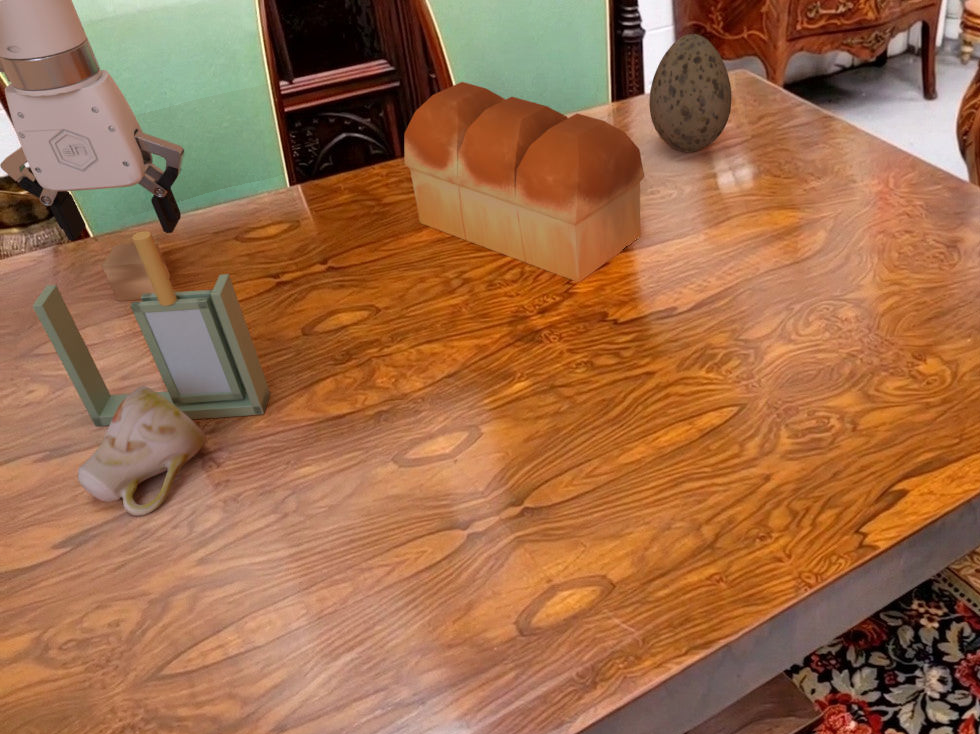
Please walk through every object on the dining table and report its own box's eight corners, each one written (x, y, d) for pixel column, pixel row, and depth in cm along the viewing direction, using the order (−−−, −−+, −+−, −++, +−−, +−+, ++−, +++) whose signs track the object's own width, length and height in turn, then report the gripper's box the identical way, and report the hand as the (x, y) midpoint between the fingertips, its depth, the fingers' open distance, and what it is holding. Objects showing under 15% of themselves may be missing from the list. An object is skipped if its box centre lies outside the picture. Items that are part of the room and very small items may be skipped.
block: (117, 301, 100) (101, 265, 98) (130, 279, 104) (115, 244, 101) (159, 298, 101) (144, 262, 98) (170, 277, 104) (156, 241, 101)
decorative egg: (721, 169, 122) (727, 52, 113) (641, 161, 124) (640, 46, 115) (734, 135, 130) (741, 23, 120) (659, 129, 132) (659, 18, 122)
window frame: (95, 426, 85) (31, 305, 76) (106, 404, 87) (46, 284, 78) (264, 414, 86) (220, 294, 77) (270, 393, 88) (229, 273, 79)
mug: (64, 500, 78) (61, 382, 76) (182, 485, 85) (183, 377, 83) (100, 524, 73) (98, 398, 71) (222, 506, 81) (223, 392, 79)
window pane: (172, 407, 84) (98, 241, 73) (176, 397, 85) (104, 233, 74) (242, 402, 85) (179, 237, 74) (245, 392, 86) (184, 228, 75)
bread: (645, 237, 109) (643, 113, 100) (580, 284, 102) (571, 156, 92) (485, 183, 120) (470, 67, 110) (415, 223, 113) (392, 102, 103)
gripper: (-64, 87, 83) (26, 255, 95) (135, 74, 84) (200, 242, 95) (-28, 57, 89) (53, 219, 100) (158, 45, 90) (218, 207, 101)
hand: (125, 230), depth 98 cm, fingers open, 9 cm apart
